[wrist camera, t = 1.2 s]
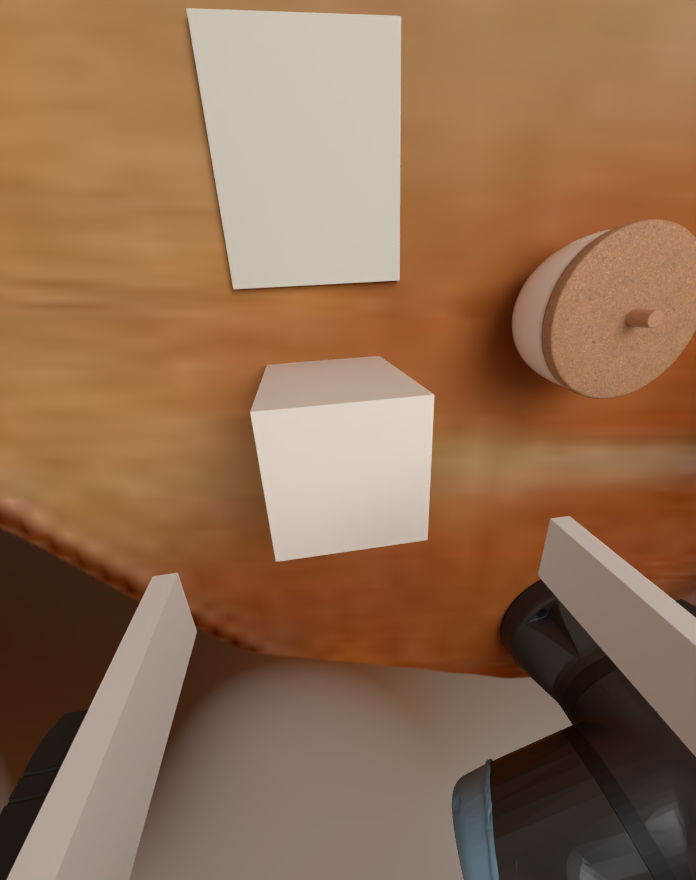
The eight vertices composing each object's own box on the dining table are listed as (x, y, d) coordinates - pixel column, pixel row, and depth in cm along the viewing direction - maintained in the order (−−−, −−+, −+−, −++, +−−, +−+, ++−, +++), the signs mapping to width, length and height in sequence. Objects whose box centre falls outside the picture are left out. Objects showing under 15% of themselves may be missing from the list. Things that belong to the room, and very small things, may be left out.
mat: (397, 280, 26) (399, 280, 26) (234, 289, 25) (233, 289, 24) (398, 23, 21) (400, 16, 20) (189, 16, 19) (186, 8, 19)
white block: (380, 455, 32) (427, 539, 21) (281, 466, 31) (275, 561, 20) (379, 355, 28) (434, 394, 17) (266, 364, 27) (250, 412, 16)
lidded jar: (474, 272, 27) (559, 261, 18) (603, 214, 27) (750, 176, 18) (501, 394, 31) (580, 432, 23) (612, 346, 31) (734, 365, 22)
